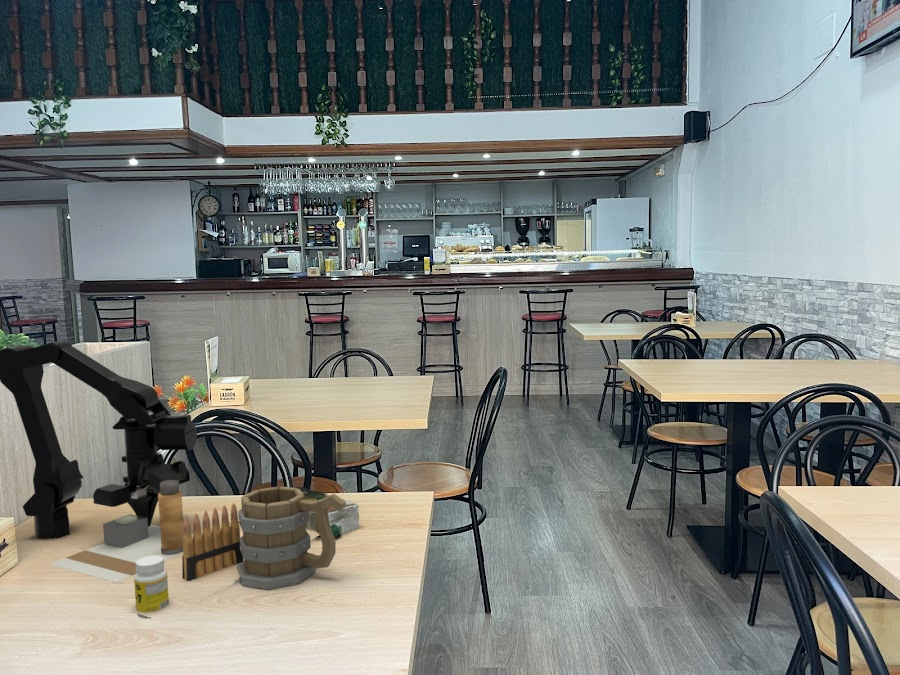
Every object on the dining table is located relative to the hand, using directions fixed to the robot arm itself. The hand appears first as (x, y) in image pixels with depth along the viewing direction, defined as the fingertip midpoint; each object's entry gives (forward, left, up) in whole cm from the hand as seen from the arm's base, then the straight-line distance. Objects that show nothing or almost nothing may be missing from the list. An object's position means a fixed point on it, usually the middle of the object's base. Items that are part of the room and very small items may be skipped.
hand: (146, 526), depth 143 cm
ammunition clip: (+26, -8, -3) cm, 27 cm away
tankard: (+39, -1, -3) cm, 39 cm away
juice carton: (+25, +20, -3) cm, 33 cm away
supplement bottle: (+27, -21, -3) cm, 35 cm away
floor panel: (+6, -7, -2) cm, 10 cm away
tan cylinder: (+12, -4, -1) cm, 13 cm away
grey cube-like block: (0, -5, -1) cm, 5 cm away
